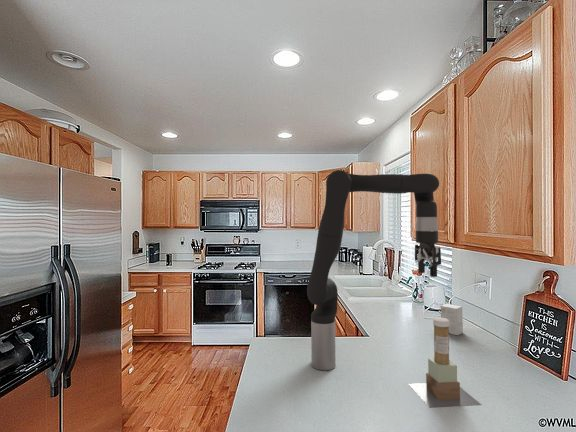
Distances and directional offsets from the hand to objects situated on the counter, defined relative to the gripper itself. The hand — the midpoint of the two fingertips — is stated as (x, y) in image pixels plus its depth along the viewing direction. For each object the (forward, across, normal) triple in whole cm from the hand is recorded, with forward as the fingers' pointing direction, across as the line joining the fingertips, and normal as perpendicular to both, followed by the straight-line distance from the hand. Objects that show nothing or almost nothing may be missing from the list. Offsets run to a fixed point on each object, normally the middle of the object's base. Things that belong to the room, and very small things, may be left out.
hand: (427, 274), depth 118 cm
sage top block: (+30, +14, -3) cm, 33 cm away
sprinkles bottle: (+25, +14, -3) cm, 29 cm away
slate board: (+36, +14, -3) cm, 39 cm away
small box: (+36, -43, +35) cm, 66 cm away
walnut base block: (+35, +14, -3) cm, 38 cm away
